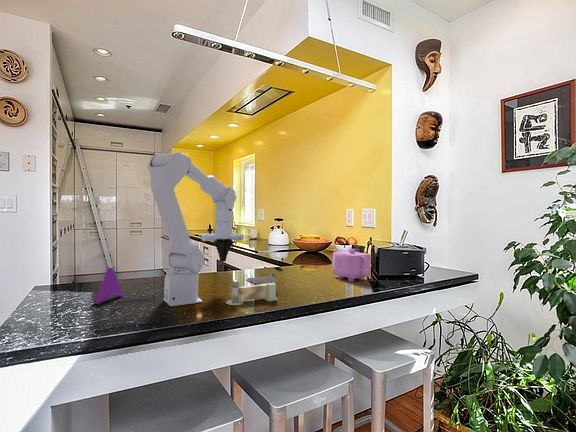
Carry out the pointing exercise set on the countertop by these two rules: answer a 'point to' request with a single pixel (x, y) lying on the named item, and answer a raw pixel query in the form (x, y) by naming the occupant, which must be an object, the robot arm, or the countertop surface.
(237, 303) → the hinge post
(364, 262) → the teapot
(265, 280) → the caliper
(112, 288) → the arrowhead
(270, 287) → the latch post
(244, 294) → the gate
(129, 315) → the countertop surface
